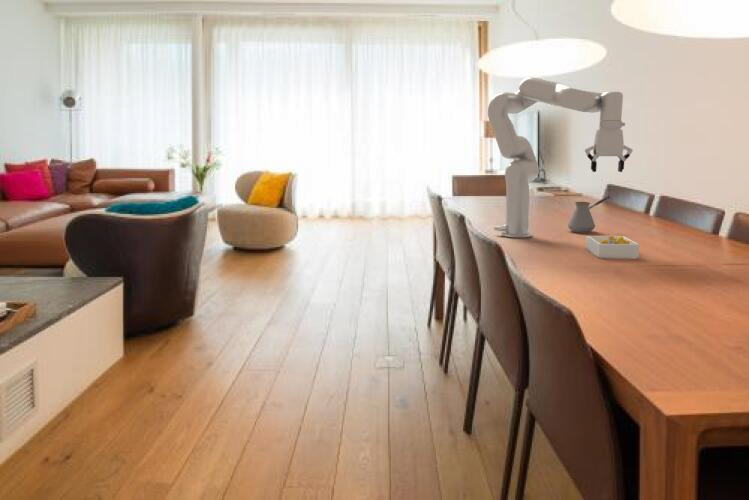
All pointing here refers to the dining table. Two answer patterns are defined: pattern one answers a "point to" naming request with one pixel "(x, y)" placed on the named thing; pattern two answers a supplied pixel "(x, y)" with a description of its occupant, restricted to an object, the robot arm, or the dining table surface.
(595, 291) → the dining table surface
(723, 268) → the dining table surface
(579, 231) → the coffee pot
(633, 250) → the bin
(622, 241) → the pressure relief valve
